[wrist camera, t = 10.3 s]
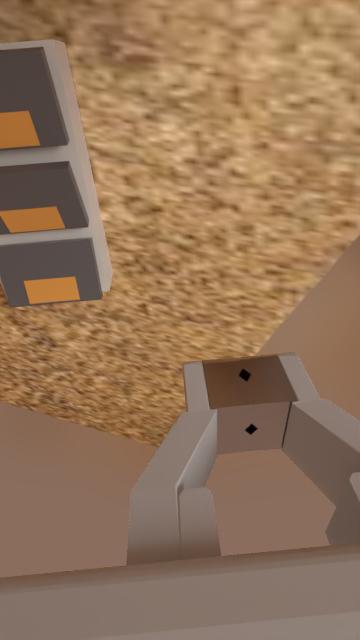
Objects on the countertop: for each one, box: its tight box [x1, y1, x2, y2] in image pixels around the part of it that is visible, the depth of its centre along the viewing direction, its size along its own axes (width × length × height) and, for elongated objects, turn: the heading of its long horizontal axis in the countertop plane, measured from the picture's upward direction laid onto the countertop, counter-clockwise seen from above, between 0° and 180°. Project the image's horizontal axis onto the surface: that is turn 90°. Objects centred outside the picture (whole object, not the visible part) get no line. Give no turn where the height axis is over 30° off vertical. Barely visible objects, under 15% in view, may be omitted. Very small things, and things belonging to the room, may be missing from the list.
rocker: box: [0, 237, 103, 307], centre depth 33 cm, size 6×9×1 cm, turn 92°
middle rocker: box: [0, 161, 89, 235], centre depth 29 cm, size 6×9×1 cm, turn 94°
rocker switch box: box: [0, 39, 113, 300], centre depth 32 cm, size 21×11×4 cm, turn 4°
